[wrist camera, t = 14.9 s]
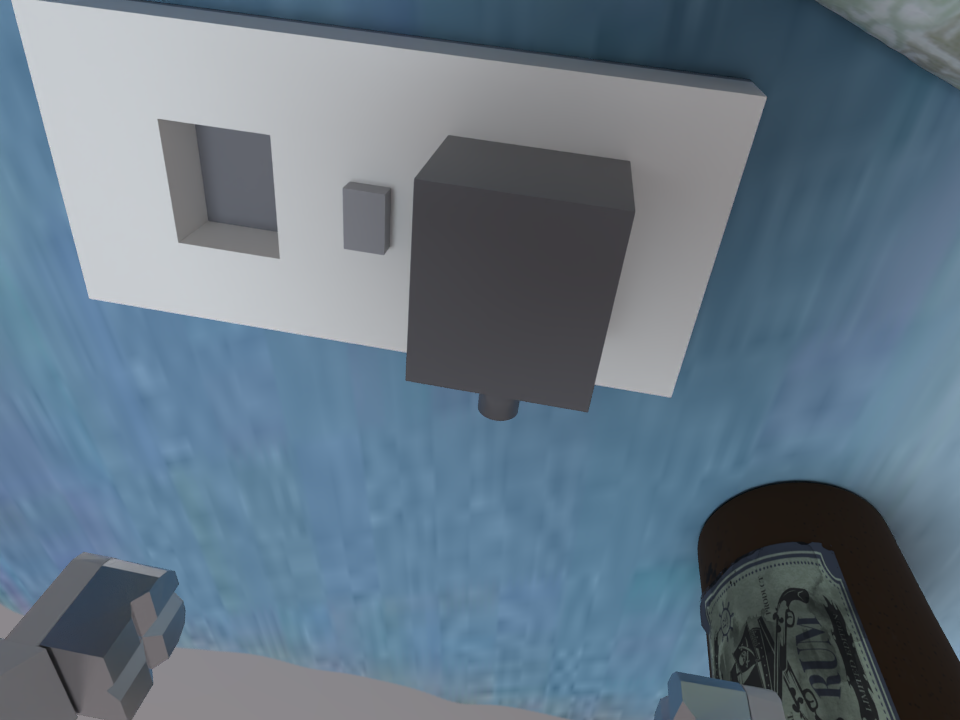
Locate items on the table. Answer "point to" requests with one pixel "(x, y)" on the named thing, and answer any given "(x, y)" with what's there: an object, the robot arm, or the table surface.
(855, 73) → the table surface
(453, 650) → the table surface
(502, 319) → the plug
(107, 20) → the socket
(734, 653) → the olive oil
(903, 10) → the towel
